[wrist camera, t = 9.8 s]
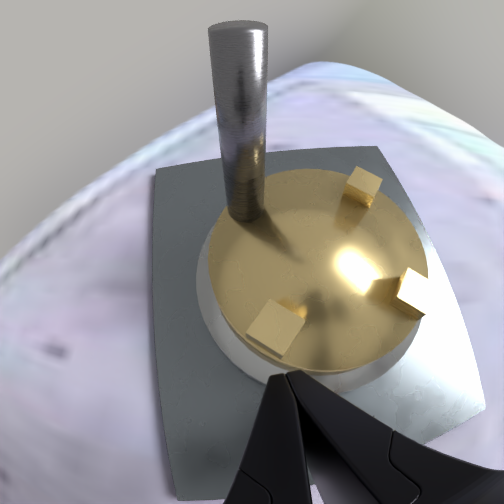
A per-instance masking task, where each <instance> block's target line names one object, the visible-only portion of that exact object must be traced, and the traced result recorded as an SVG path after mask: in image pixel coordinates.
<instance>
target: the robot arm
mask: <svg viewBox="0 0 504 504" xmlns="http://www.w3.org/2000/svg"><path fill="white" fill-rule="evenodd" d="M307 466H308V468H309V470H310V473H311V475H312V477H313V480H314V482H315V484H316V486H317V489H318V491H319V493H320V496H321V498H322V500H323V502H324V504H504V470H494V469H489V468H485V467H481V466H478V465H475V464H472V463H469V462H466V461H463V460H460V459H457V458H455V457H452V456H449V455H446V454H444V453H441V452H439V451H436V450H434V449H432V448H429V447H427V446H425V445H423V444H421V443H419V442H417V441H415V440H413V439H411V438H409V437H407V436H405V435H404V434H402V433H400V432H398V431H397V430H394V431H393V428H391V427H390V426H388V425H386V424H385V423H383V422H381V421H380V420H378V419H376V418H375V417H373V416H371V415H370V414H368V413H367V412H365V411H363V410H362V409H360V408H359V407H357V406H355V405H354V404H352V403H351V402H349V401H348V400H346V399H344V398H343V397H341V396H340V395H338V394H337V393H335V392H334V391H332V390H331V389H329V388H328V387H326V386H325V385H323V384H322V383H320V382H319V381H317V380H316V379H314V378H313V377H311V376H310V375H308V374H307V373H305V372H304V371H302V370H294V371H289V372H287V373H286V374H284V373H279V374H274V375H270V376H269V378H268V381H267V384H266V387H265V390H264V393H263V396H262V400H261V403H260V406H259V409H258V412H257V415H256V418H255V421H254V424H253V427H252V430H251V433H250V436H249V438H248V441H247V444H246V447H245V450H244V453H243V456H242V458H241V461H240V464H239V467H238V470H237V472H236V474H235V477H234V480H233V482H232V485H231V487H230V489H229V492H228V494H227V496H226V498H225V501H224V503H223V504H312V497H311V490H310V483H309V476H308V469H307Z"/></svg>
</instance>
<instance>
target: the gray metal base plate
mask: <svg viewBox="0 0 504 504" xmlns="http://www.w3.org/2000/svg"><path fill="white" fill-rule="evenodd" d="M356 166H358V167H360V168H362V169H364V170H366V171H368V172H370V173H372V174H374V175H376V176H378V177H380V178H381V179H383V180H382V182H381V185H380V187H379V189H378V190H379V191H380V192H382V193H383V194H385V195H386V196H387V197H388V198H390V199H391V200H392V201H393V202H394V203H395V204H396V205H397V206H398V207H399V208H400V209H401V210H402V211H403V212H404V214H405V215H406V216H407V218H408V219H409V220H410V222H411V223H412V225H413V226H414V228H415V230H416V232H417V233H418V235H419V238H420V240H421V242H422V245H423V248H424V251H425V255H426V259H427V265H428V280H430V281H431V282H433V283H434V284H436V286H435V290H434V293H433V296H432V300H431V303H430V306H429V309H428V312H427V314H426V315H425V316H424V317H422V318H421V319H419V320H418V321H417V323H416V325H415V326H414V328H413V329H412V331H411V332H410V333H409V334H408V336H407V337H406V338H405V339H404V340H403V341H402V342H401V343H400V344H399V345H398V346H397V347H395V348H394V349H393V350H392V351H391V352H389V353H387V354H386V355H384V356H382V357H381V358H379V359H377V360H375V361H373V362H371V363H369V364H367V365H365V366H363V367H360V368H358V369H355V370H353V371H350V372H346V373H341V374H337V375H326V376H315V375H310V376H311V377H313V378H314V379H316V380H317V381H319V382H320V383H322V384H323V385H325V386H326V387H328V388H329V389H331V390H332V391H334V392H335V393H337V394H338V395H340V396H341V397H343V398H344V399H346V400H348V401H349V402H351V403H352V404H354V405H355V406H357V407H359V408H360V409H362V410H363V411H365V412H367V413H368V414H370V415H371V416H373V417H375V418H376V419H378V420H380V421H381V422H383V423H385V424H386V425H388V426H390V427H391V428H393V431H394V430H397V431H398V432H400V433H402V434H404V435H405V436H407V437H409V438H411V439H413V440H415V441H417V442H419V443H421V444H425V443H427V442H429V441H431V440H433V439H435V438H437V437H439V436H441V435H443V434H444V433H446V432H448V431H450V430H451V429H453V428H455V427H457V426H458V425H460V424H462V423H463V422H465V421H467V420H468V419H470V418H471V417H473V416H475V415H476V414H478V413H479V412H481V411H482V410H484V409H485V408H486V407H485V401H484V396H483V391H482V387H481V382H480V378H479V373H478V369H477V365H476V362H475V358H474V354H473V351H472V347H471V344H470V340H469V337H468V334H467V331H466V327H465V324H464V321H463V318H462V315H461V313H460V310H459V307H458V304H457V301H456V299H455V296H454V293H453V291H452V288H451V286H450V283H449V281H448V278H447V276H446V273H445V271H444V269H443V266H442V264H441V262H440V259H439V257H438V255H437V253H436V251H435V248H434V246H433V244H432V242H431V240H430V238H429V236H428V234H427V232H426V230H425V228H424V226H423V224H422V222H421V220H420V218H419V216H418V214H417V212H416V210H415V208H414V207H413V205H412V203H411V201H410V199H409V197H408V196H407V194H406V192H405V190H404V189H403V187H402V185H401V183H400V182H399V180H398V178H397V177H396V175H395V173H394V172H393V170H392V168H391V167H390V165H389V164H388V162H387V161H386V159H385V157H384V156H383V154H382V153H381V151H380V150H379V148H378V147H377V146H358V147H332V148H314V149H300V150H288V151H277V152H267V153H265V177H267V176H269V175H272V174H276V173H279V172H283V171H289V170H295V169H322V170H329V171H334V172H338V173H343V174H346V175H349V176H351V174H352V173H353V171H354V169H355V168H356ZM226 206H227V201H226V193H225V185H224V176H223V168H222V159H221V158H218V159H212V160H205V161H199V162H192V163H186V164H181V165H175V166H170V167H164V168H159V169H156V176H155V191H154V210H153V244H152V282H153V316H154V335H155V350H156V363H157V374H158V384H159V393H160V402H161V410H162V417H163V424H164V431H165V438H166V444H167V450H168V456H169V461H170V466H171V472H172V477H173V482H174V486H175V491H176V495H177V500H178V501H194V500H217V499H225V498H226V496H227V494H228V492H229V489H230V487H231V485H232V482H233V480H234V477H235V474H236V472H237V470H238V467H239V464H240V461H241V458H242V456H243V453H244V450H245V447H246V444H247V441H248V438H249V436H250V433H251V430H252V427H253V424H254V421H255V418H256V415H257V412H258V409H259V406H260V403H261V400H262V396H263V393H264V390H265V387H266V384H267V381H268V378H269V376H270V375H274V374H279V373H284V374H286V373H287V372H289V371H287V370H284V369H282V368H279V367H276V366H274V365H272V364H270V363H268V362H267V361H265V360H263V359H261V358H260V357H258V356H257V355H256V354H254V353H253V352H252V351H250V350H249V349H248V348H247V347H246V346H245V345H244V344H243V343H242V342H241V341H240V340H239V339H238V338H237V337H236V336H235V334H234V333H233V332H232V330H231V329H230V328H229V326H228V325H227V323H226V321H225V319H224V318H223V316H222V314H221V311H220V308H219V306H218V303H217V301H216V298H215V295H214V292H213V289H212V285H211V280H210V276H209V268H208V251H209V243H210V239H211V235H212V232H213V229H214V227H215V224H216V222H217V220H218V218H219V216H220V215H221V213H222V211H223V210H224V209H225V207H226ZM307 469H308V476H309V483H310V485H313V484H315V482H314V480H313V477H312V475H311V473H310V470H309V468H308V466H307Z"/></svg>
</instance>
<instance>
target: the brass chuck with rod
mask: <svg viewBox="0 0 504 504" xmlns="http://www.w3.org/2000/svg"><path fill="white" fill-rule="evenodd" d="M208 36H209V46H210V56H211V66H212V77H213V87H214V96H215V106H216V115H217V124H218V133H219V142H220V151H221V159H222V168H223V176H224V185H225V193H226V201H227V206H226V207H225V209H224V210H223V211H222V213H221V215H220V216H219V218H218V220H217V222H216V224H215V227H214V229H213V232H212V235H211V239H210V243H209V251H208V268H209V276H210V280H211V285H212V289H213V292H214V295H215V298H216V301H217V303H218V306H219V308H220V311H221V314H222V316H223V318H224V319H225V321H226V323H227V325H228V326H229V328H230V329H231V330H232V332H233V333H234V334H235V336H236V337H237V338H238V339H239V340H240V341H241V342H242V343H243V344H244V345H245V346H246V347H247V348H248V349H249V350H250V351H252V352H253V353H254V354H256V355H257V356H258V357H260V358H261V359H263V360H265V361H267V362H268V363H270V364H272V365H274V366H276V367H279V368H282V369H284V370H287V371H294V370H302V371H304V372H305V373H307V374H308V375H315V376H326V375H337V374H341V373H346V372H350V371H353V370H355V369H358V368H360V367H363V366H365V365H367V364H369V363H371V362H373V361H375V360H377V359H379V358H381V357H382V356H384V355H386V354H387V353H389V352H391V351H392V350H393V349H394V348H395V347H397V346H398V345H399V344H400V343H401V342H402V341H403V340H404V339H405V338H406V337H407V336H408V334H409V333H410V332H411V331H412V329H413V328H414V326H415V325H416V323H417V321H418V320H419V319H421V318H422V317H424V316H425V315H426V314H427V312H428V309H429V306H430V303H431V300H432V296H433V293H434V290H435V286H436V284H434V283H433V282H431V281H430V280H428V265H427V259H426V255H425V251H424V248H423V245H422V242H421V240H420V238H419V235H418V233H417V232H416V230H415V228H414V226H413V225H412V223H411V222H410V220H409V219H408V218H407V216H406V215H405V214H404V212H403V211H402V210H401V209H400V208H399V207H398V206H397V205H396V204H395V203H394V202H393V201H392V200H391V199H390V198H388V197H387V196H386V195H385V194H383V193H382V192H380V191H379V190H378V189H379V187H380V185H381V182H382V180H383V179H381V178H380V177H378V176H376V175H374V174H372V173H370V172H368V171H366V170H364V169H362V168H360V167H358V166H356V168H355V169H354V171H353V173H352V174H351V176H349V175H346V174H343V173H338V172H334V171H329V170H322V169H295V170H289V171H283V172H279V173H276V174H272V175H269V176H267V177H265V152H266V112H267V61H268V60H267V59H268V26H267V25H266V24H264V23H261V22H257V21H246V20H240V21H228V22H222V23H218V24H215V25H212V26H210V27H209V28H208Z"/></svg>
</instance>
